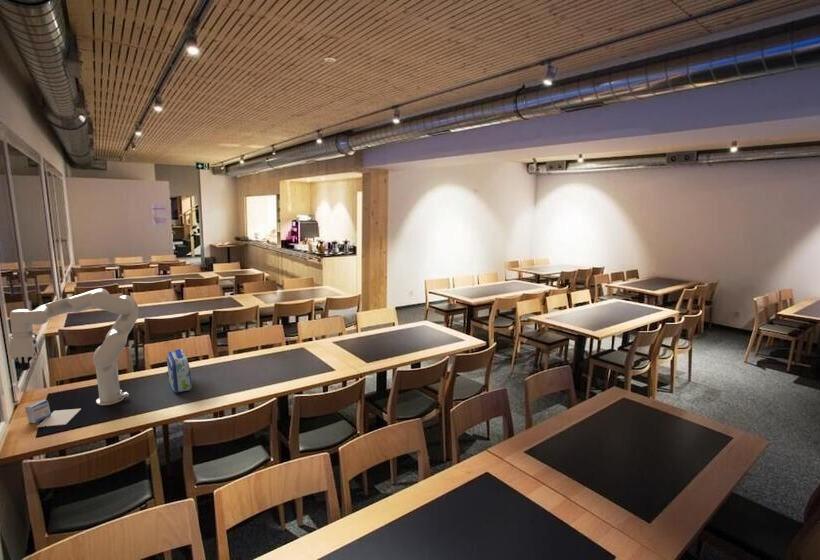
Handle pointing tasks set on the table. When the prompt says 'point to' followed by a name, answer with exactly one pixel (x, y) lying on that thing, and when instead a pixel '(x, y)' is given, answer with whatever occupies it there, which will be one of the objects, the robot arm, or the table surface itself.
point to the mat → (59, 417)
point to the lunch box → (178, 371)
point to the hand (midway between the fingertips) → (25, 369)
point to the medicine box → (38, 411)
